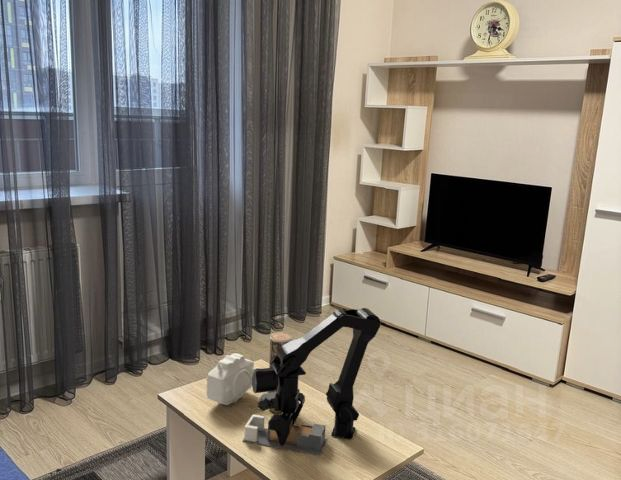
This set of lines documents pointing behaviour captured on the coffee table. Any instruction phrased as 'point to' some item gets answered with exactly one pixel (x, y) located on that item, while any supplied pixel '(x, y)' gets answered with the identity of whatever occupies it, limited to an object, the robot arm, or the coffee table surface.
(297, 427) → the tan wooden block
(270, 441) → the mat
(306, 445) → the sleeve
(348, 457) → the coffee table surface
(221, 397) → the camera
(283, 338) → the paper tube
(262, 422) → the socket
